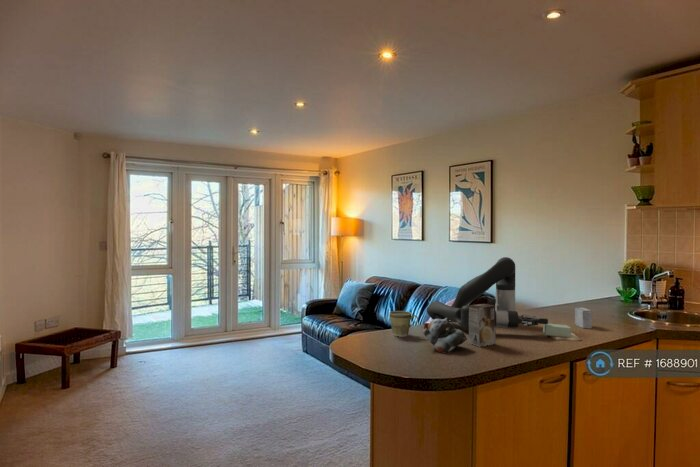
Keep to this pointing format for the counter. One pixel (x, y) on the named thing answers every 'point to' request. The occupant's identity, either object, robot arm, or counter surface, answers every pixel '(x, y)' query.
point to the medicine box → (583, 317)
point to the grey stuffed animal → (443, 334)
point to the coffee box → (482, 325)
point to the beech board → (573, 337)
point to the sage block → (557, 330)
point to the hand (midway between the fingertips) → (547, 321)
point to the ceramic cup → (401, 322)
